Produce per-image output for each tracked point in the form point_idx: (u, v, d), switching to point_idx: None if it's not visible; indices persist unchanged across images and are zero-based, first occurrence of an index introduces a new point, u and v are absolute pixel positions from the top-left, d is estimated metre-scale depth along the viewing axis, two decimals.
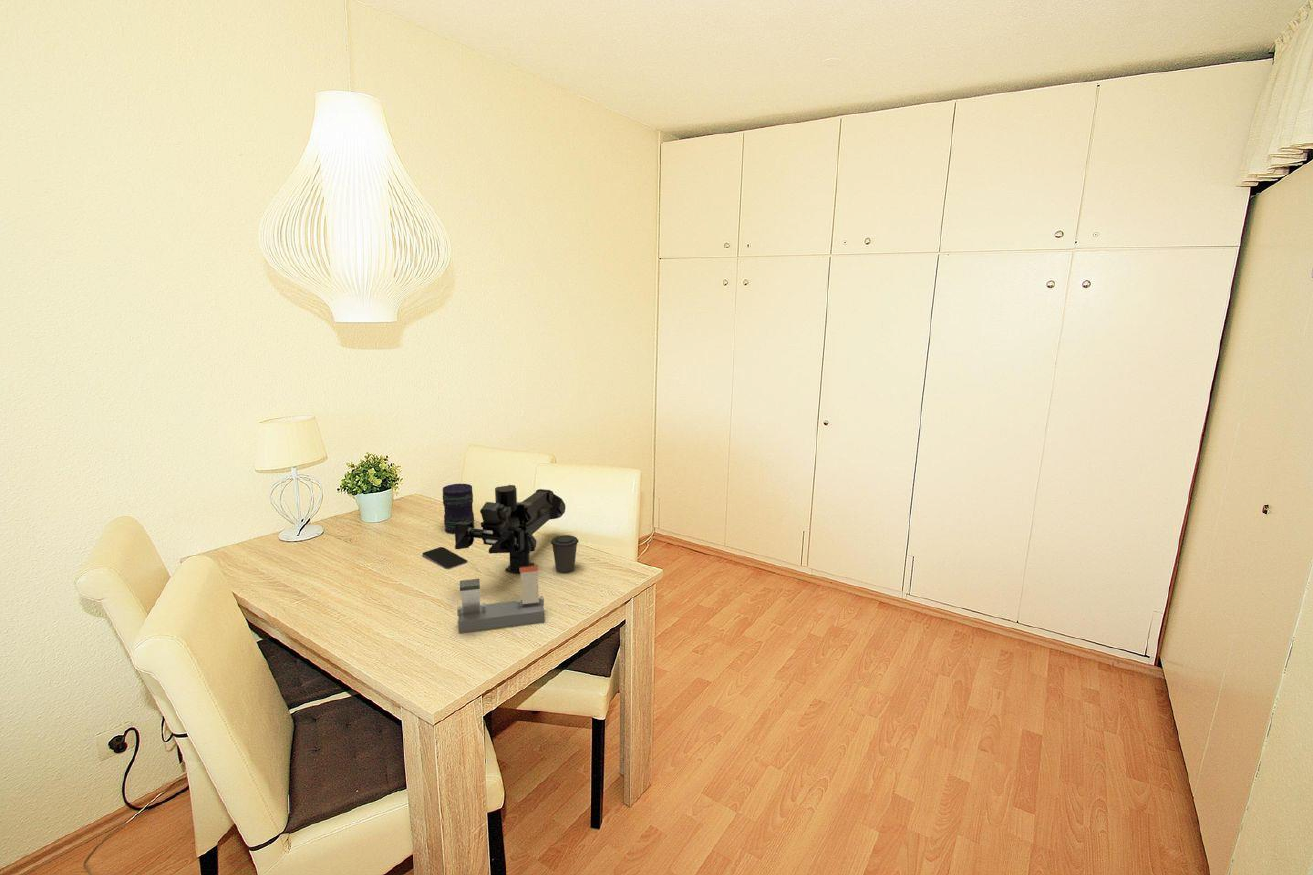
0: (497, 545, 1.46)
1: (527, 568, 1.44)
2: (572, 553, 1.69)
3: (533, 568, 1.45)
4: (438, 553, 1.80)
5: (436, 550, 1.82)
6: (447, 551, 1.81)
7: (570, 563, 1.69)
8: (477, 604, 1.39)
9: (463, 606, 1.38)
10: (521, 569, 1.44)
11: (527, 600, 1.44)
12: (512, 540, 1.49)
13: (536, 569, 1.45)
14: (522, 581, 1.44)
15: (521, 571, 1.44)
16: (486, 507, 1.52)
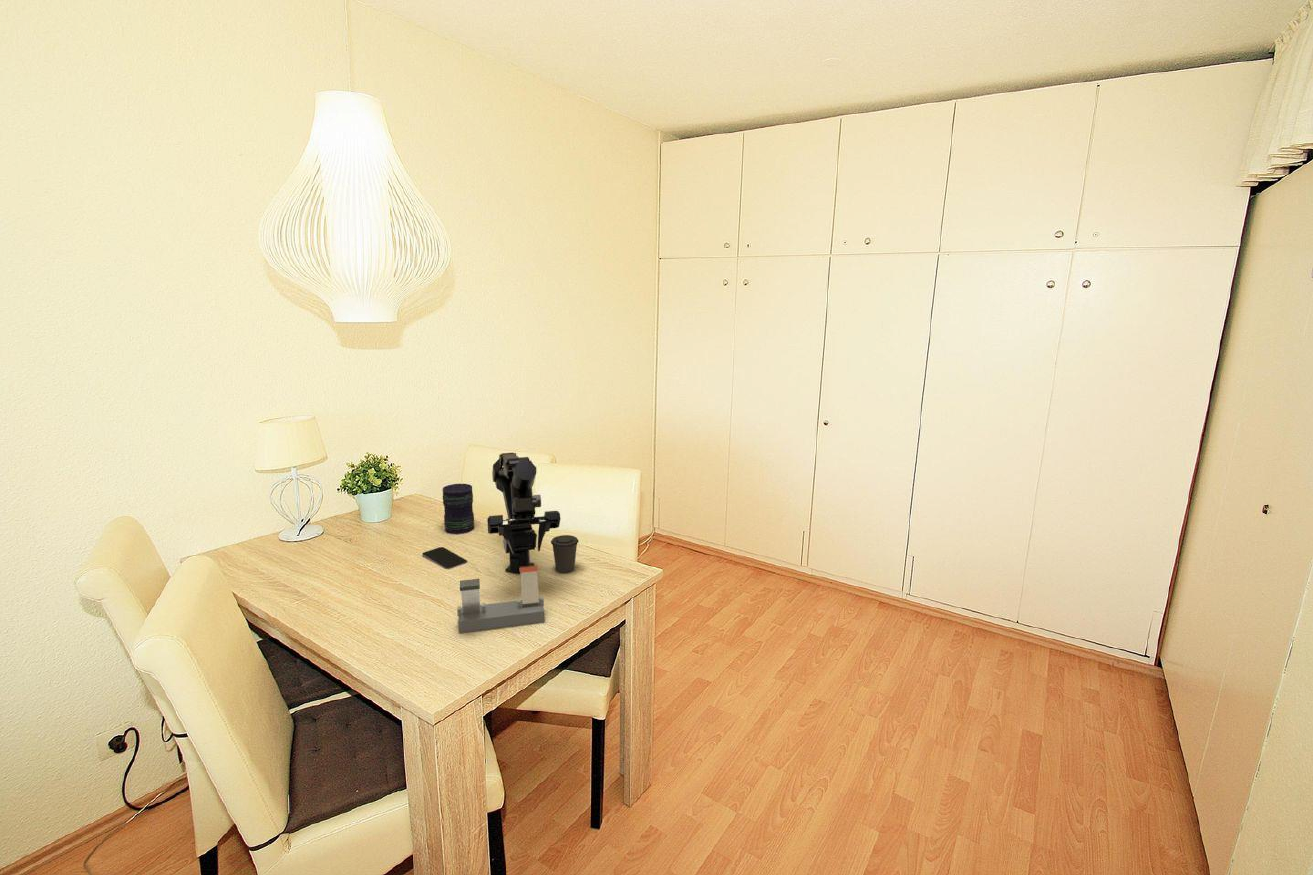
0: (541, 540, 1.53)
1: (527, 568, 1.44)
2: (572, 553, 1.69)
3: (533, 568, 1.45)
4: (438, 553, 1.80)
5: (436, 550, 1.82)
6: (447, 551, 1.81)
7: (570, 563, 1.69)
8: (477, 604, 1.39)
9: (463, 606, 1.38)
10: (521, 569, 1.44)
11: (527, 600, 1.44)
12: (548, 526, 1.55)
13: (536, 569, 1.45)
14: (522, 581, 1.44)
15: (521, 571, 1.44)
16: (521, 507, 1.49)
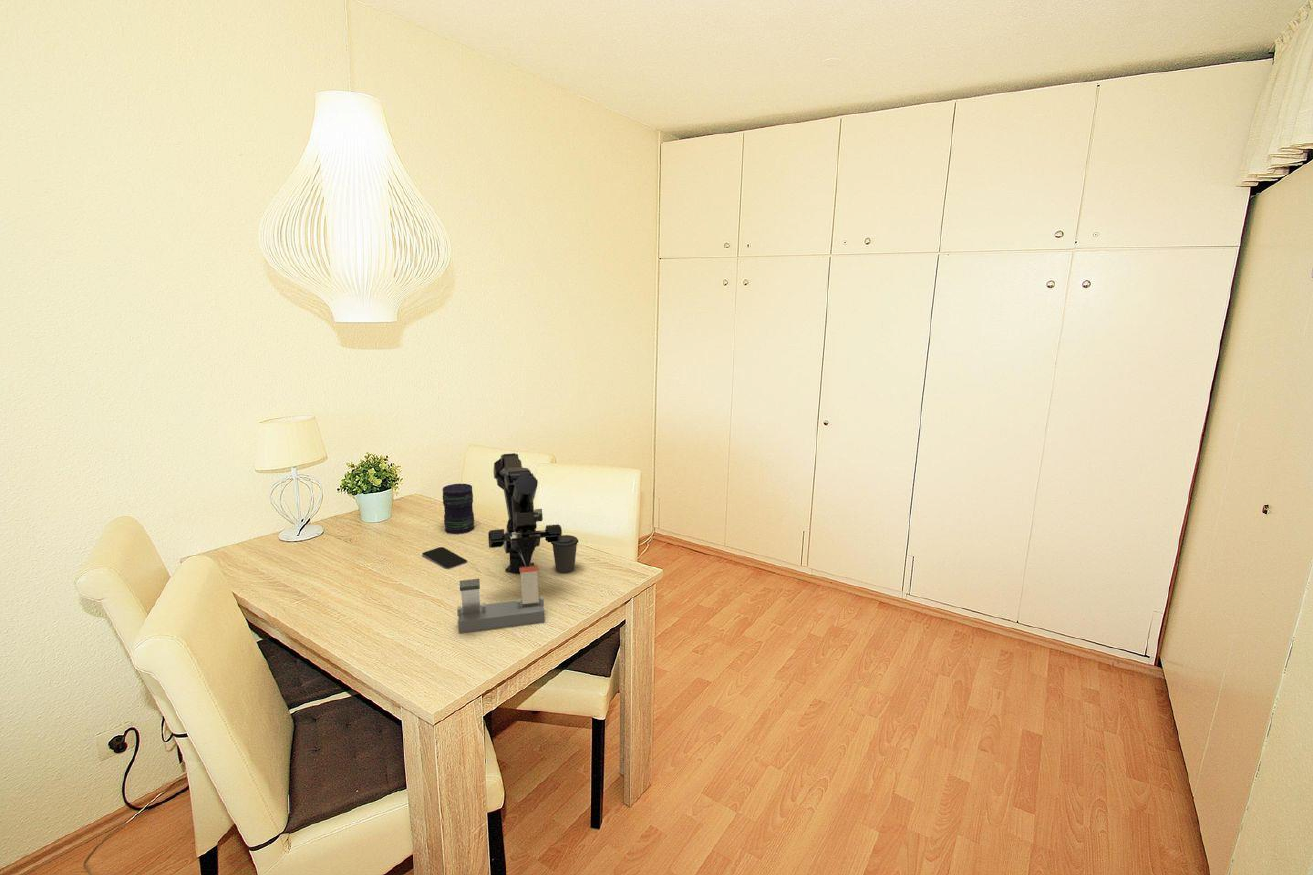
0: (531, 556, 1.51)
1: (527, 568, 1.44)
2: (572, 553, 1.69)
3: (533, 568, 1.45)
4: (438, 553, 1.80)
5: (436, 550, 1.82)
6: (447, 551, 1.81)
7: (570, 563, 1.69)
8: (477, 604, 1.39)
9: (463, 606, 1.38)
10: (521, 569, 1.44)
11: (527, 600, 1.44)
12: (538, 541, 1.53)
13: (536, 569, 1.45)
14: (522, 581, 1.44)
15: (521, 571, 1.44)
16: (523, 521, 1.48)
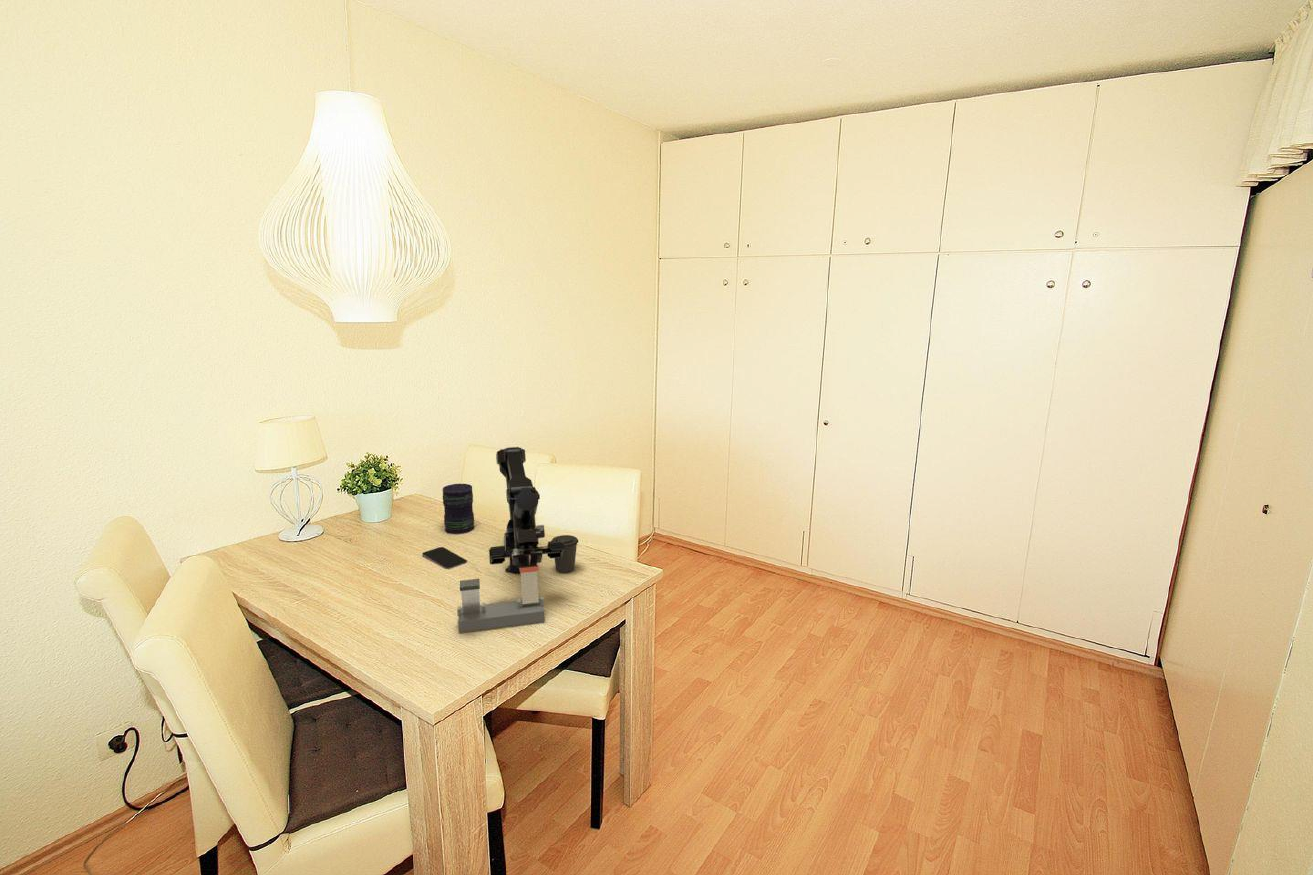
0: None
1: (527, 568, 1.44)
2: (572, 553, 1.69)
3: (533, 569, 1.45)
4: (438, 553, 1.80)
5: (436, 550, 1.82)
6: (447, 551, 1.81)
7: (570, 563, 1.69)
8: (477, 604, 1.39)
9: (463, 606, 1.38)
10: (521, 569, 1.44)
11: (527, 600, 1.44)
12: (540, 557, 1.50)
13: (536, 569, 1.45)
14: (522, 581, 1.44)
15: (521, 571, 1.44)
16: (524, 538, 1.44)
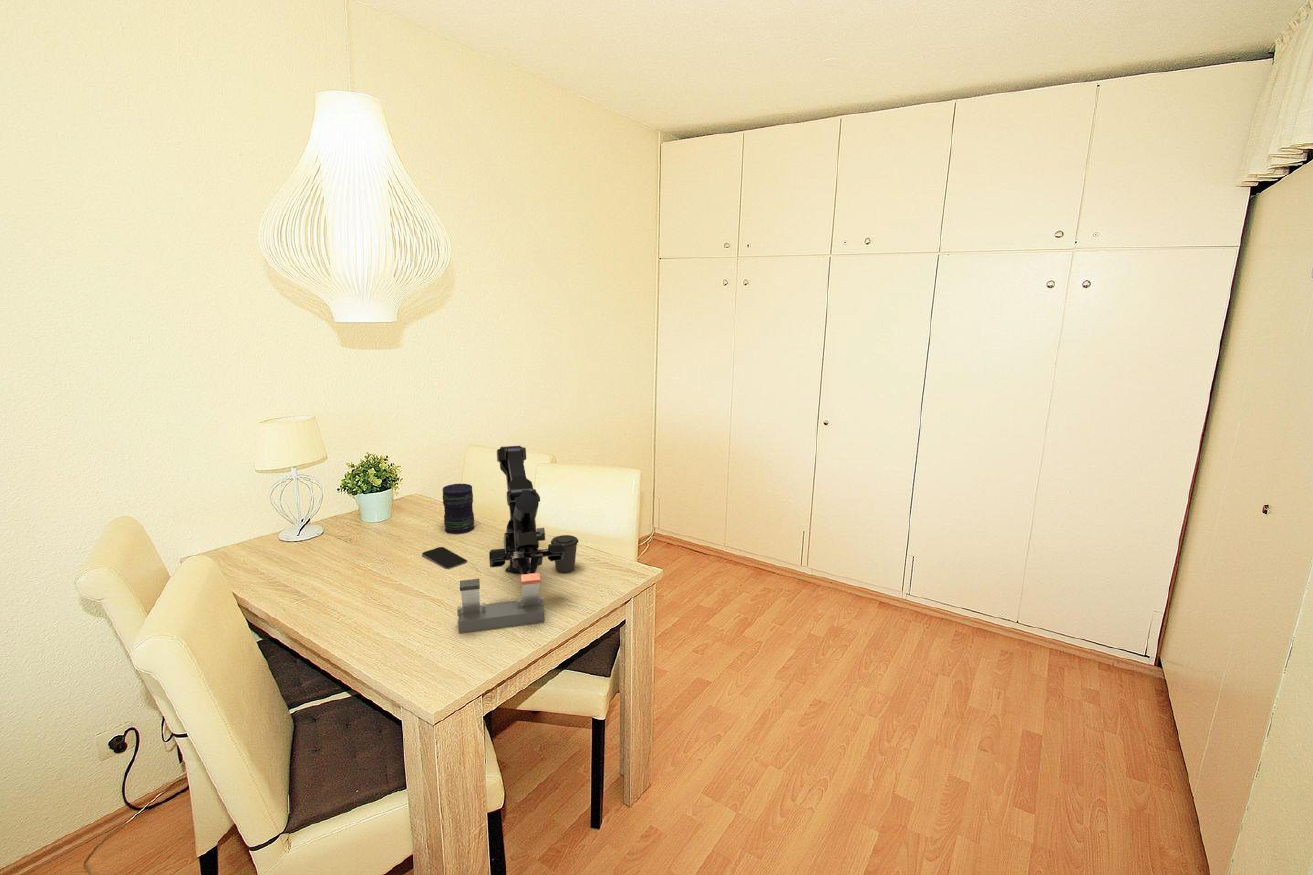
0: None
1: (529, 581, 1.39)
2: (572, 553, 1.69)
3: (535, 581, 1.40)
4: (438, 553, 1.80)
5: (436, 550, 1.82)
6: (447, 551, 1.81)
7: (570, 563, 1.69)
8: (477, 604, 1.39)
9: (463, 606, 1.38)
10: (523, 582, 1.39)
11: (527, 603, 1.43)
12: (540, 560, 1.49)
13: (538, 582, 1.40)
14: (523, 590, 1.41)
15: (523, 584, 1.39)
16: (525, 541, 1.43)
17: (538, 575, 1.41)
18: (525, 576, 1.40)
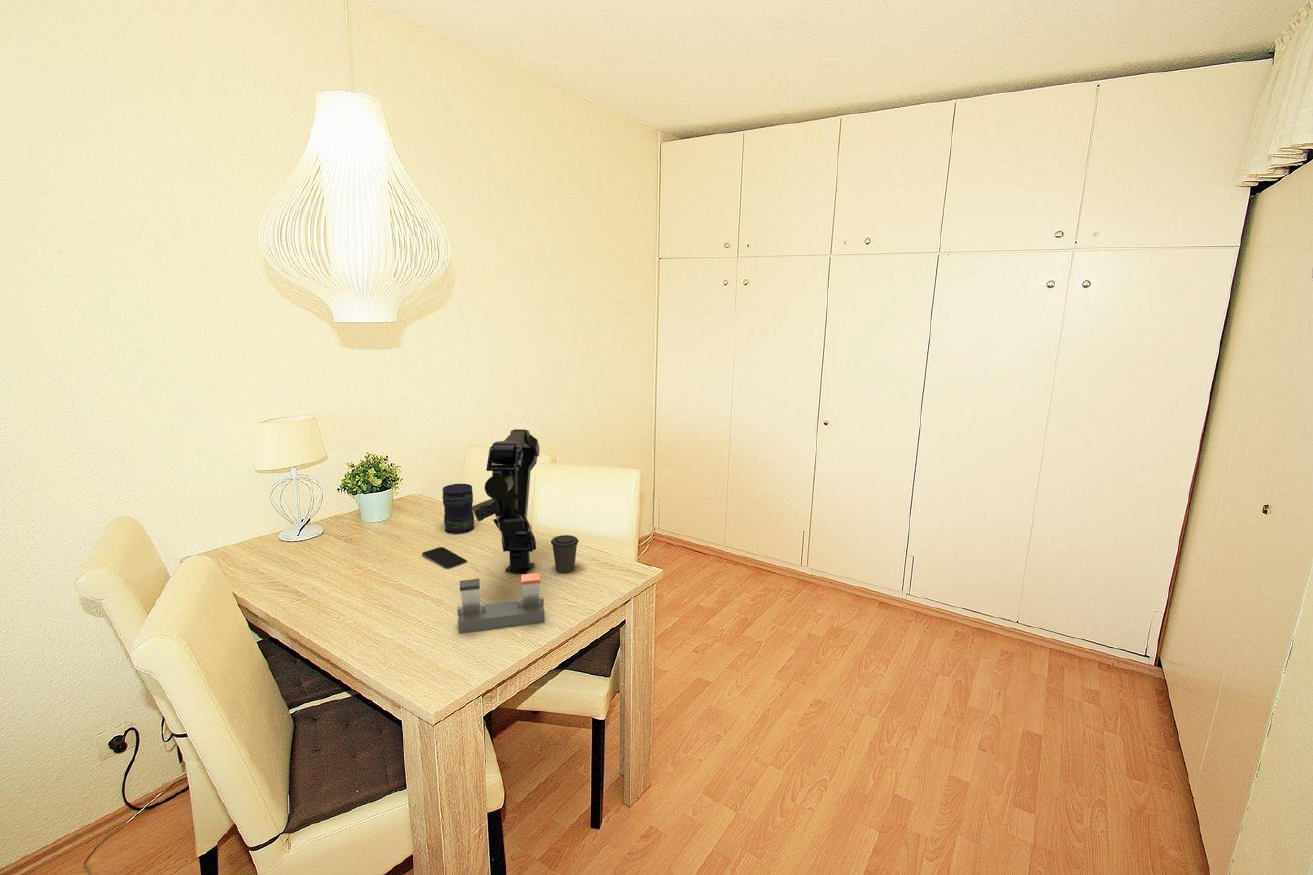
0: (504, 539, 1.53)
1: (529, 581, 1.39)
2: (572, 553, 1.69)
3: (535, 581, 1.40)
4: (438, 553, 1.80)
5: (436, 550, 1.82)
6: (447, 551, 1.81)
7: (570, 563, 1.69)
8: (477, 604, 1.39)
9: (463, 606, 1.38)
10: (523, 582, 1.39)
11: (527, 603, 1.43)
12: None
13: (538, 582, 1.40)
14: (523, 590, 1.41)
15: (523, 584, 1.39)
16: None
17: (538, 575, 1.41)
18: (525, 576, 1.40)
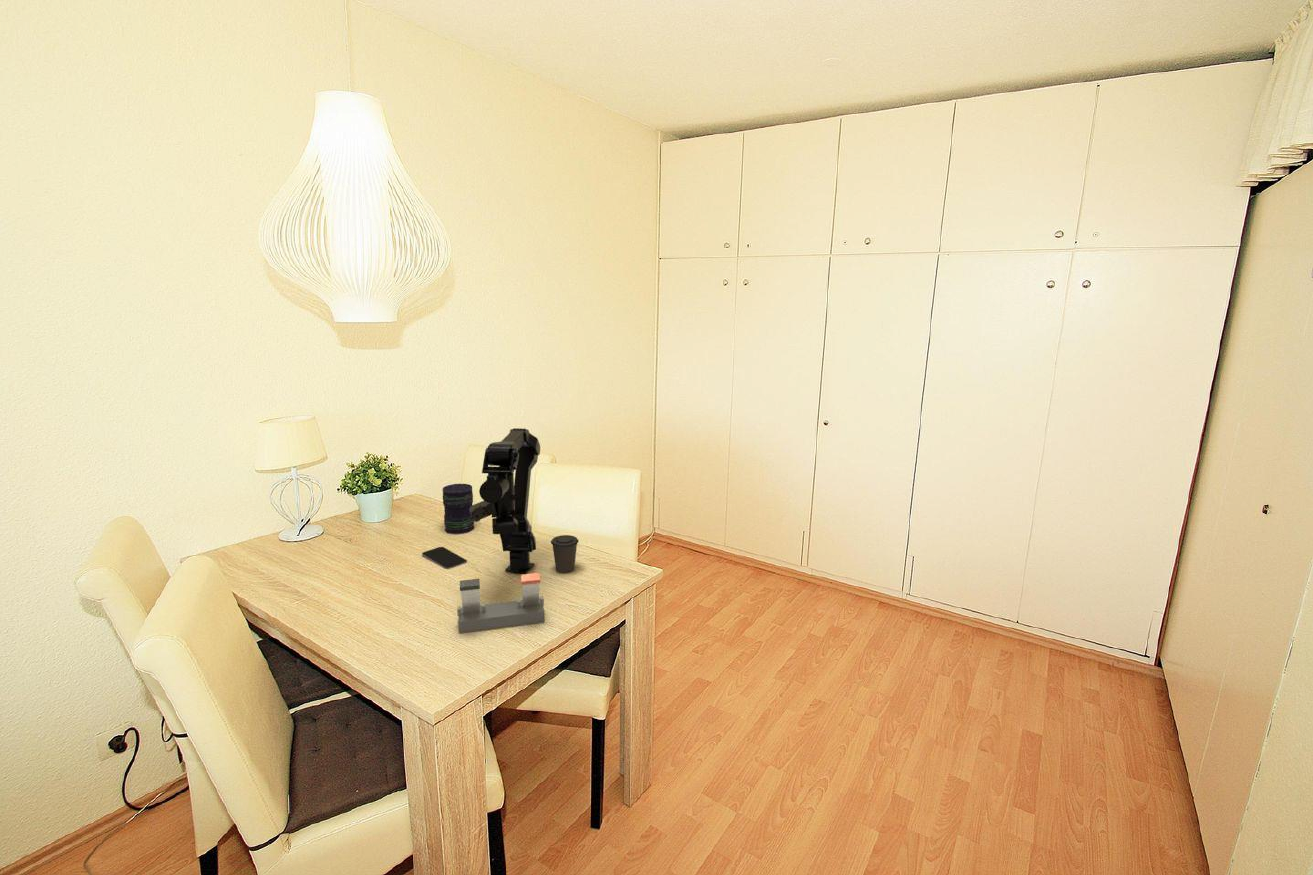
0: (502, 539, 1.54)
1: (529, 581, 1.39)
2: (572, 553, 1.69)
3: (535, 581, 1.40)
4: (438, 553, 1.80)
5: (436, 550, 1.82)
6: (447, 551, 1.81)
7: (570, 563, 1.69)
8: (477, 604, 1.39)
9: (463, 606, 1.38)
10: (523, 582, 1.39)
11: (527, 603, 1.43)
12: None
13: (538, 582, 1.40)
14: (523, 590, 1.41)
15: (523, 584, 1.39)
16: None
17: (538, 575, 1.41)
18: (525, 576, 1.40)
